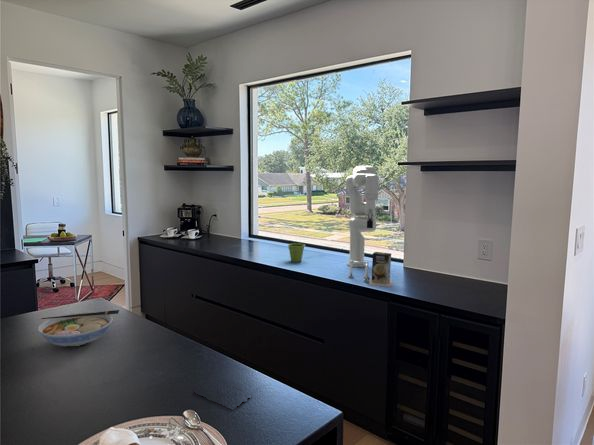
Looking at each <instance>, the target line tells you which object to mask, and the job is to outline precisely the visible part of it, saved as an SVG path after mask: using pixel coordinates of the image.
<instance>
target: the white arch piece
mask: <svg viewBox="0 0 594 445" xmlns="http://www.w3.org/2000/svg"><path fill="white" fill-rule="evenodd" d="M353 263H363V264H366V265H365V266H364V268H365V270H364V272H365V273H364V277H363V283H366V284H367V283H368V284H370V276H369V263H370V262H369V261H364V262H358V261H350V266H349V275H348V279H354V275H353V269H354V268H353Z"/></svg>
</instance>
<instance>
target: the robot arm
mask: <svg viewBox="0 0 594 445" xmlns="http://www.w3.org/2000/svg"><path fill="white" fill-rule="evenodd" d="M379 181H380V177H379V175H377V169H376V167H375V166H372V165H357V166H355V167H354V169H353V171H352V175H348V176H347V177H346V178H345V190H346V192H347V195H348V197H349V208H350V214H351V215H352V216H353V217H352V218H350V219H349V222H348V226H349V228H348V229H349V261H347V262H346V265H347V266H349V267H350V261H358V262H365V242H366V240H365V237H364V236H363V234H362V233H373V232H375V231H376V229H377V218H376V201H378V200H379V183H380V182H379ZM358 189H364V198H363V195H362V193H361V192H360V191H359V190H358ZM363 199H364V200H365V201H364V200H363ZM365 265H366V264H363V263H353V267H355V268H363V267H364V268H365Z"/></svg>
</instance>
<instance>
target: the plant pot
mask: <svg viewBox="0 0 594 445" xmlns="http://www.w3.org/2000/svg"><path fill="white" fill-rule="evenodd" d="M287 246H288V251H289V257H290V261H291V262H292V263H300V262H302V259H303V254H304V253H303V252H304V249H305V246H306V244H303V243H290V244H287Z"/></svg>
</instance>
